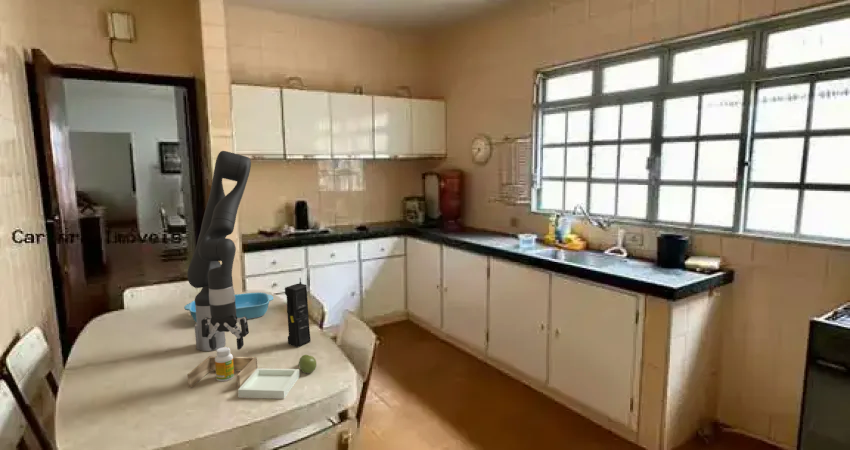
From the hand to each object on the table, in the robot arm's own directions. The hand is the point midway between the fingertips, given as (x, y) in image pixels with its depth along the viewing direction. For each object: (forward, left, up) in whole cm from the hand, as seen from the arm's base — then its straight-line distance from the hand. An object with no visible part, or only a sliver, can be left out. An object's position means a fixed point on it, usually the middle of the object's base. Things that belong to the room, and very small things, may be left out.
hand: (227, 348), depth 151 cm
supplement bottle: (-1, 0, -10) cm, 10 cm away
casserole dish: (-27, +57, -10) cm, 64 cm away
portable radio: (+14, +28, -10) cm, 32 cm away
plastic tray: (+16, -5, -10) cm, 20 cm away
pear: (+24, +7, -10) cm, 27 cm away
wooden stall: (-1, -1, -10) cm, 10 cm away
